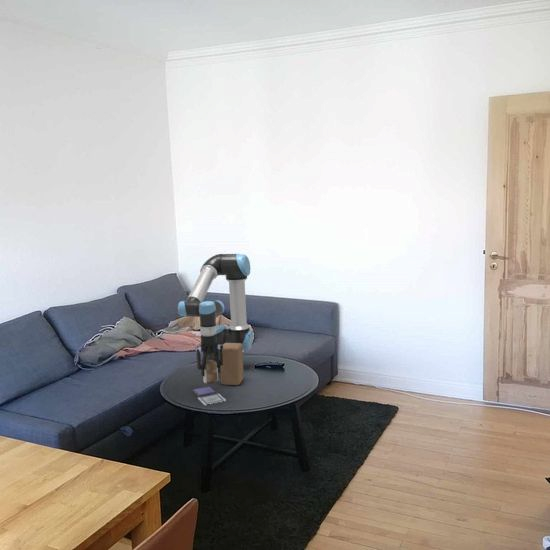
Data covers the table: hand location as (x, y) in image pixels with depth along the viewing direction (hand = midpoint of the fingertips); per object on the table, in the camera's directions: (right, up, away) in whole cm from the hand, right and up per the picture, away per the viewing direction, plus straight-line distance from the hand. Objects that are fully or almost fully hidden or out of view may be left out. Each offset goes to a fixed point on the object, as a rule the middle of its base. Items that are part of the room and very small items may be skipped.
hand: (210, 381), depth 277 cm
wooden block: (+9, -5, +25) cm, 27 cm away
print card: (0, -9, +2) cm, 9 cm away
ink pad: (-4, -8, +11) cm, 14 cm away
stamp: (0, 0, 0) cm, 0 cm away
